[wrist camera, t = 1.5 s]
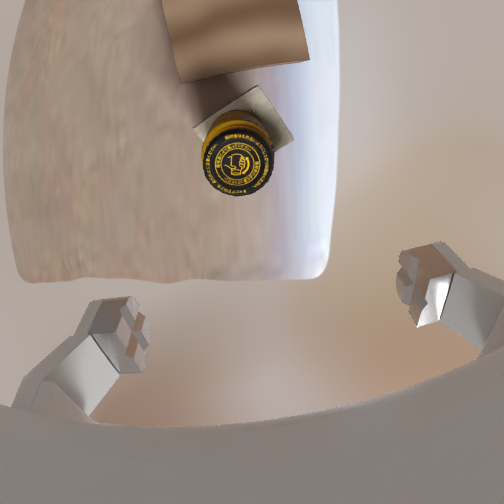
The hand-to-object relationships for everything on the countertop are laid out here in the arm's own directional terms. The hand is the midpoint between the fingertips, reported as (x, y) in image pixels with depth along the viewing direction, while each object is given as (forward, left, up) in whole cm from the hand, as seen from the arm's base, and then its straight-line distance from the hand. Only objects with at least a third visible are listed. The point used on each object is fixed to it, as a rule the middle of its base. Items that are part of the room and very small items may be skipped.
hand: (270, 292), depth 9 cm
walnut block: (-13, +1, -27) cm, 30 cm away
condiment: (0, 0, -27) cm, 27 cm away
